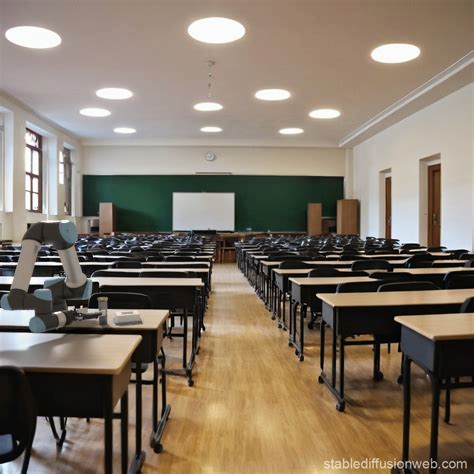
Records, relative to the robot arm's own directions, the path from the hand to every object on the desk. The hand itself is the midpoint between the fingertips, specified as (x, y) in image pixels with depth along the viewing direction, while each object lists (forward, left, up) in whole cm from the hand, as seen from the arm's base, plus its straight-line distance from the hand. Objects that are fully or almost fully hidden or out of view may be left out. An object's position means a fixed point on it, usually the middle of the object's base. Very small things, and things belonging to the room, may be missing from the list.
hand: (96, 311), depth 231 cm
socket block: (-6, +17, -8) cm, 19 cm away
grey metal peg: (-4, +4, -8) cm, 9 cm away
